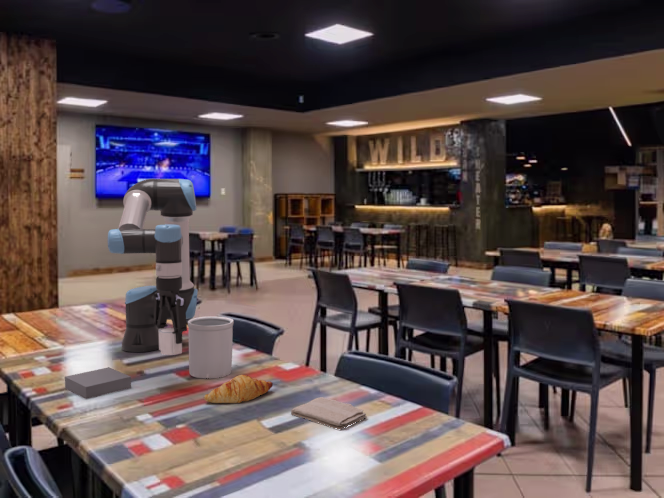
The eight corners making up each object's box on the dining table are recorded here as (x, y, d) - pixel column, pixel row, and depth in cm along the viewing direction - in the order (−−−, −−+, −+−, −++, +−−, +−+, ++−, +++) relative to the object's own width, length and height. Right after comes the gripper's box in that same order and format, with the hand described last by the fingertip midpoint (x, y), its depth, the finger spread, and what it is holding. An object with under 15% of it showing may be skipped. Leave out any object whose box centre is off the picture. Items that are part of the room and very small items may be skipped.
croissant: (208, 419, 167) (213, 398, 163) (196, 394, 174) (200, 373, 170) (276, 403, 178) (281, 384, 175) (262, 380, 185) (267, 361, 182)
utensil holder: (242, 369, 202) (242, 318, 201) (216, 382, 189) (215, 327, 187) (206, 364, 209) (206, 314, 207) (178, 375, 195) (177, 322, 194)
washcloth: (342, 433, 150) (342, 421, 150) (288, 416, 161) (288, 405, 161) (369, 419, 159) (369, 408, 159) (316, 404, 170) (317, 394, 170)
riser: (109, 379, 192) (108, 367, 192) (131, 389, 183) (130, 376, 182) (65, 389, 182) (64, 376, 182) (86, 400, 172) (85, 387, 172)
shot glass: (176, 356, 178) (175, 333, 177) (154, 354, 180) (154, 331, 179) (186, 350, 185) (185, 327, 184) (165, 348, 186) (165, 326, 186)
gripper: (140, 274, 183) (141, 347, 186) (177, 281, 170) (178, 360, 173) (161, 271, 189) (163, 343, 191) (199, 278, 176) (200, 355, 178)
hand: (170, 351), depth 182 cm, fingers closed on shot glass, 7 cm apart
